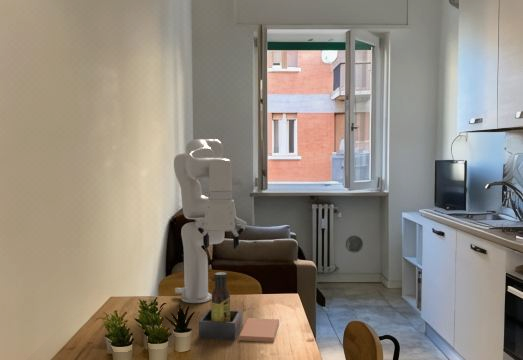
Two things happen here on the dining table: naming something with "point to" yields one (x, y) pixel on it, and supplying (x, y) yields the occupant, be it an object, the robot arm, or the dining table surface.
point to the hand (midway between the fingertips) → (221, 247)
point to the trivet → (260, 330)
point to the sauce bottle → (220, 299)
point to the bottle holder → (220, 326)
